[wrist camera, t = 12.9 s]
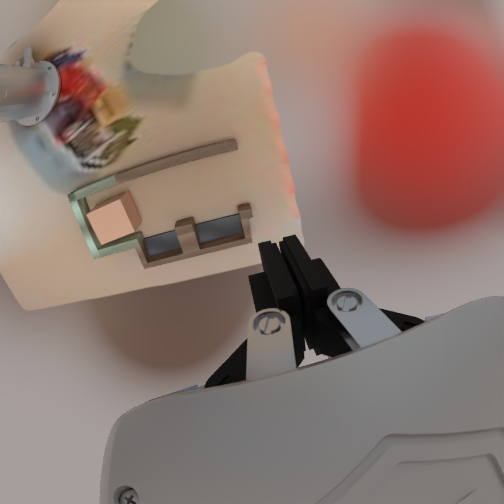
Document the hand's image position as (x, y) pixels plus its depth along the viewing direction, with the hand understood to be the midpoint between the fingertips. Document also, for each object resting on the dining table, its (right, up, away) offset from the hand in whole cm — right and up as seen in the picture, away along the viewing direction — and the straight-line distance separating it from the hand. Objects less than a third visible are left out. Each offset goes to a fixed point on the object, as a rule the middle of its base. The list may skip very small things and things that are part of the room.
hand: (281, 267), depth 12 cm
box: (-17, +8, +33) cm, 38 cm away
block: (-25, +8, +33) cm, 42 cm away
